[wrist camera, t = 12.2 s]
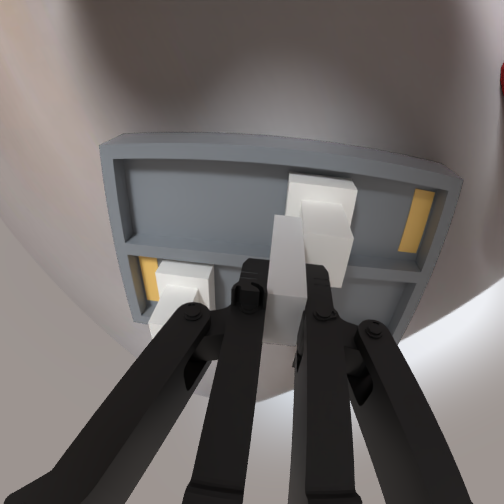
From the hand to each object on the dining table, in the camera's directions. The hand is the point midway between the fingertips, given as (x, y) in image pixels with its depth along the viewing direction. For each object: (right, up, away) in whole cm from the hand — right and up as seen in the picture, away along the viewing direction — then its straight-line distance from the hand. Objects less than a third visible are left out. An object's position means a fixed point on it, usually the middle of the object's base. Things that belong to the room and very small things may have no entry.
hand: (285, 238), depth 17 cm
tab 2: (+2, +2, +3) cm, 4 cm away
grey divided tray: (0, 0, +7) cm, 7 cm away
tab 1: (-7, -4, +7) cm, 11 cm away
